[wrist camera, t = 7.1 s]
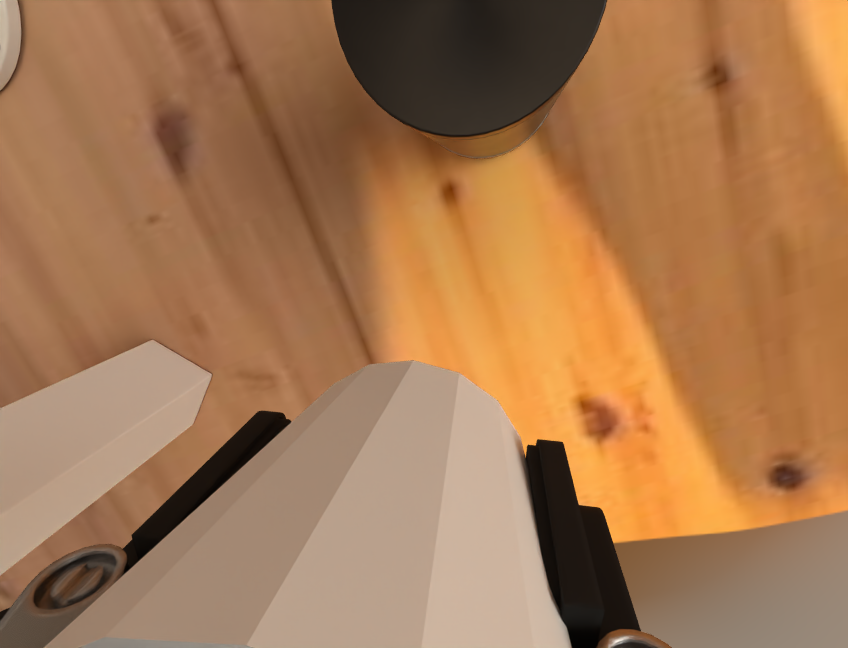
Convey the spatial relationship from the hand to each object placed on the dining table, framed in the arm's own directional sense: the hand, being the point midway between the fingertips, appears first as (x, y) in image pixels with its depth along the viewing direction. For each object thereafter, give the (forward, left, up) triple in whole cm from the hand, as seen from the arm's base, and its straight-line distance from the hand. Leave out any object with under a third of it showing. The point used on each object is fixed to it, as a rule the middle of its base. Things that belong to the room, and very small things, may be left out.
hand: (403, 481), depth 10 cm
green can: (-7, +10, -21) cm, 24 cm away
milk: (-16, -23, -21) cm, 35 cm away
